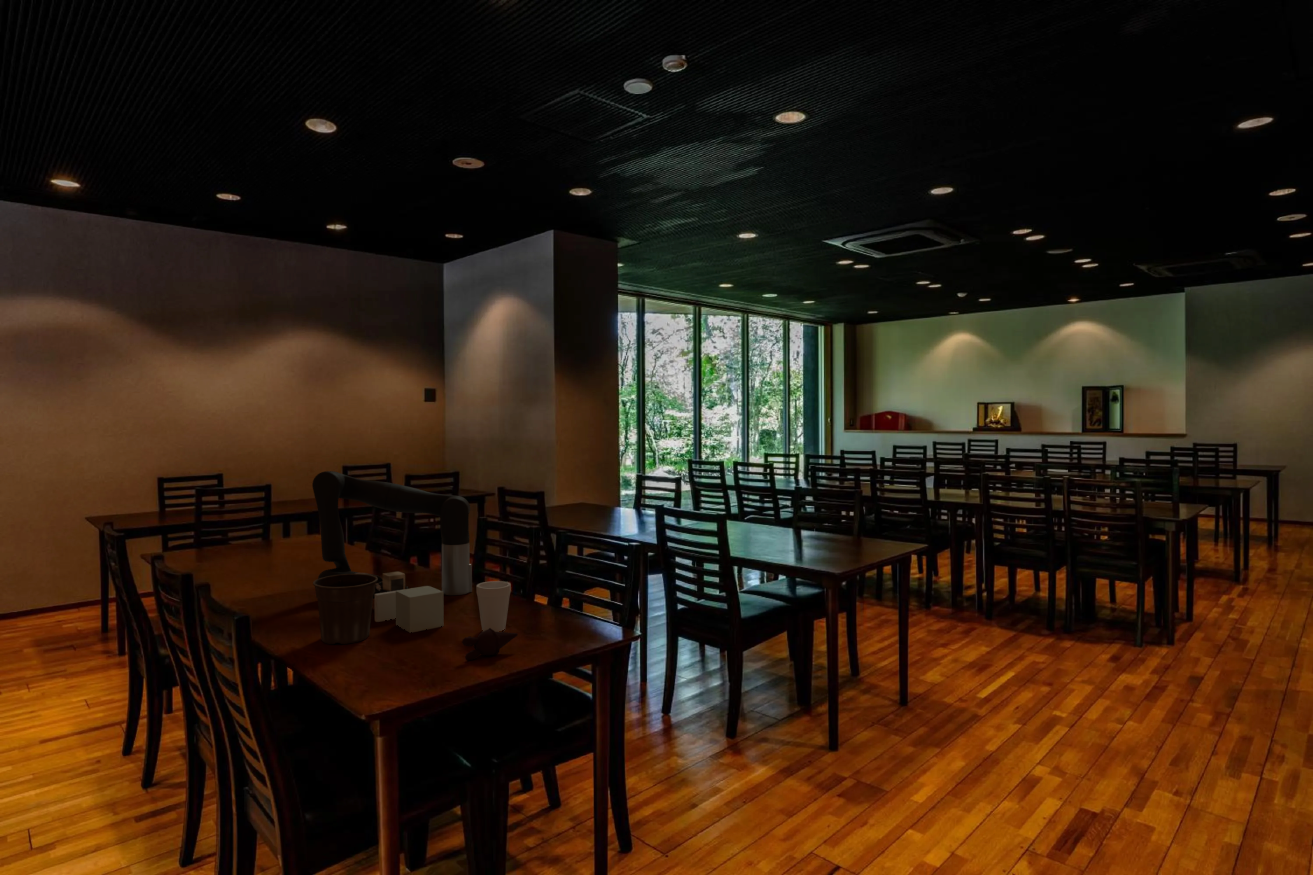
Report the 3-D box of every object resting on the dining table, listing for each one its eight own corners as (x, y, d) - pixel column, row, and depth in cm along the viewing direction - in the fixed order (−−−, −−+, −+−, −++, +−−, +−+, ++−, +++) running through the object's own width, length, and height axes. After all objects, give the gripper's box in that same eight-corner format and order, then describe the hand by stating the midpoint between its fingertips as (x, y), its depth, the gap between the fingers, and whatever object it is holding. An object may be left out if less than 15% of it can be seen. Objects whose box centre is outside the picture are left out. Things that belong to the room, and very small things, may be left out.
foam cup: (505, 635, 200) (506, 588, 199) (472, 634, 200) (472, 588, 200) (513, 625, 209) (513, 581, 209) (481, 625, 209) (481, 580, 209)
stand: (428, 618, 216) (428, 585, 215) (443, 626, 208) (443, 591, 208) (395, 625, 209) (395, 590, 209) (410, 632, 202) (409, 597, 201)
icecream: (508, 621, 191) (455, 636, 182) (521, 620, 186) (466, 636, 176) (513, 647, 191) (460, 664, 181) (526, 647, 185) (472, 664, 175)
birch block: (398, 609, 226) (398, 571, 226) (405, 612, 222) (405, 574, 222) (382, 611, 223) (382, 573, 223) (389, 615, 219) (389, 576, 219)
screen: (426, 611, 224) (426, 585, 224) (429, 612, 223) (428, 586, 222) (374, 620, 213) (374, 593, 213) (377, 622, 212) (377, 595, 212)
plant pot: (390, 635, 199) (390, 577, 199) (338, 651, 185) (338, 589, 185) (352, 626, 207) (352, 571, 207) (300, 641, 194) (300, 581, 193)
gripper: (345, 577, 224) (378, 584, 215) (384, 569, 236) (418, 576, 227) (345, 601, 224) (378, 609, 215) (384, 592, 237) (418, 599, 227)
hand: (398, 592), depth 221 cm, fingers closed on birch block, 6 cm apart
